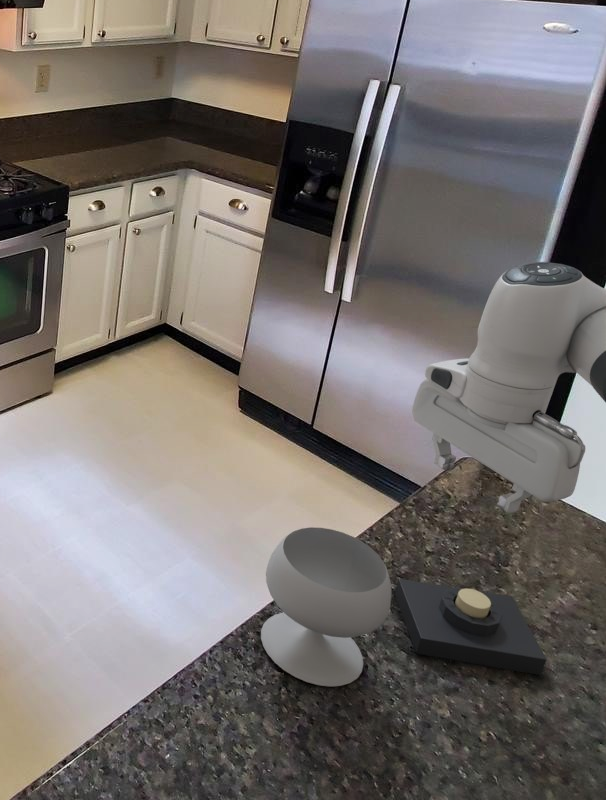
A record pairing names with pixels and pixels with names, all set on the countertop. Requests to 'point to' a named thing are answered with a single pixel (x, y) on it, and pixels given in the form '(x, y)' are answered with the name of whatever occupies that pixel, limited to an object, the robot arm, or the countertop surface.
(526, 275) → the robot arm
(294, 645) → the chalice
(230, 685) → the countertop surface
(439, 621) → the push button plate
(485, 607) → the push button switch
